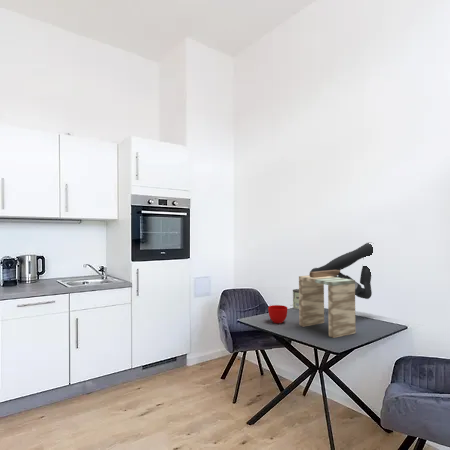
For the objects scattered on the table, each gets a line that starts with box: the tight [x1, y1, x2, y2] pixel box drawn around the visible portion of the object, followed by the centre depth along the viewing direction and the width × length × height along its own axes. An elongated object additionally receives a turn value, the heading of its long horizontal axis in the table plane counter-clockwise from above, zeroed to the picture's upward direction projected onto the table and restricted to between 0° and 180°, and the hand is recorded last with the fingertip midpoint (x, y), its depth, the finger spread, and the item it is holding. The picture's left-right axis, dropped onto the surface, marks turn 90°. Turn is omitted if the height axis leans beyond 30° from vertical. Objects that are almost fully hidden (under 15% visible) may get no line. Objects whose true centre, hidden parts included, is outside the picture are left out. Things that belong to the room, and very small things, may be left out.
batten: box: [309, 270, 341, 278], centre depth 226 cm, size 4×23×3 cm, turn 118°
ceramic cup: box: [267, 304, 288, 324], centre depth 235 cm, size 13×17×10 cm
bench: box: [298, 275, 357, 339], centre depth 216 cm, size 30×18×32 cm, turn 28°
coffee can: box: [292, 288, 299, 310], centre depth 274 cm, size 10×10×14 cm
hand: (334, 272), depth 229 cm, fingers open, 8 cm apart
